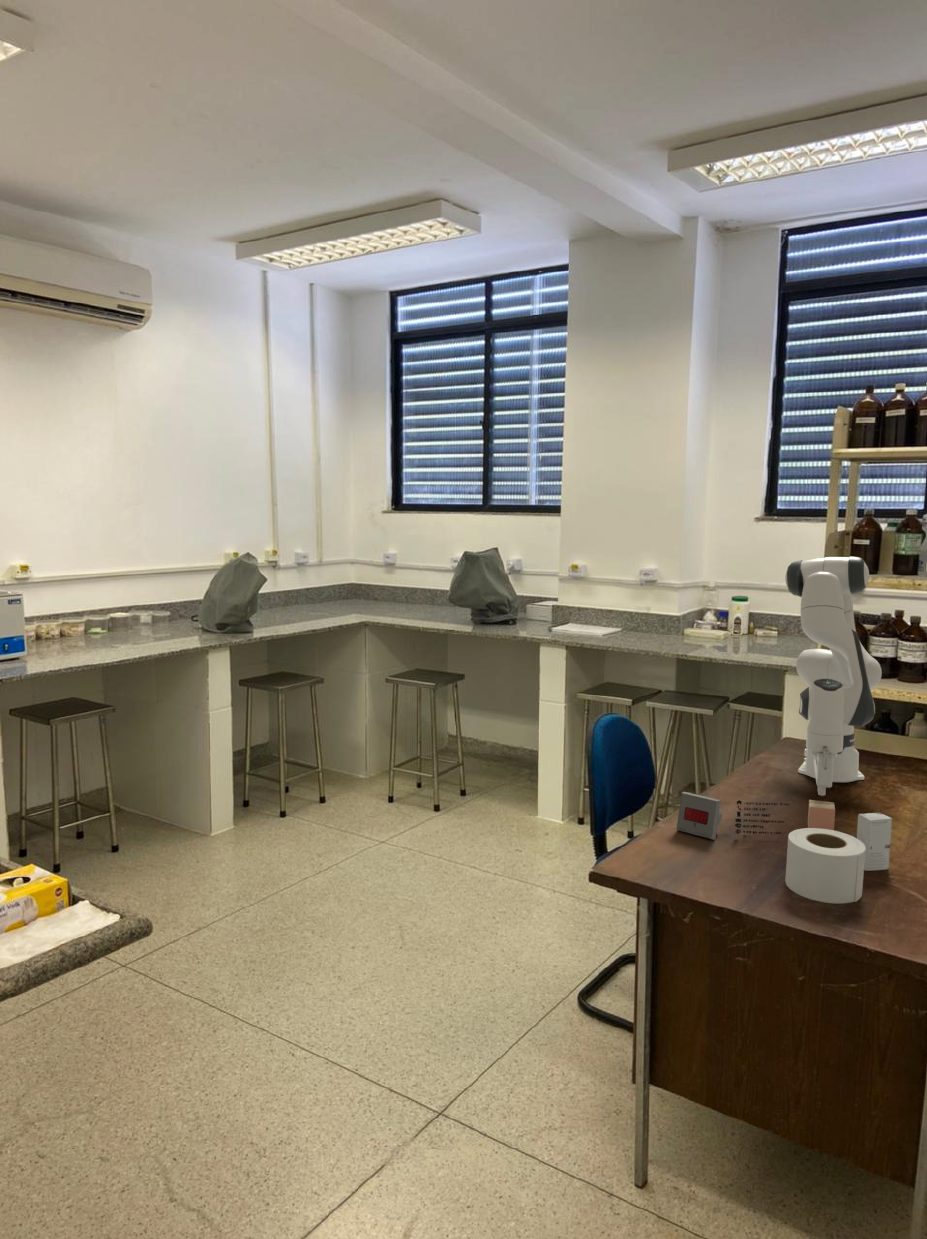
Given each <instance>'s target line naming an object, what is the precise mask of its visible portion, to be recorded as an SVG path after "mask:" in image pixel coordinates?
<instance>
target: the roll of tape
mask: <svg viewBox="0 0 927 1239" xmlns="http://www.w3.org/2000/svg"><path fill="white" fill-rule="evenodd" d="M865 851H866V847H865V845H864V844H863V843H862V842H861V841H860V840H858V839H857V837H855V836H854V835H850V834H847V833H845V832H842V831H838V830H835V829H834V830H828V829H820V828H808V827H806V828H805V827H804V828H799V829H794V830H792V831H791V832H789V833H788V837H787V851H786V867H785V878H784V881H785V885H786V886H787V888H788V889H790V890H791V891H792V892H794V893H795V894H797V895H798V896H801V897H803V898H805V899H808V900H812V901H816V902H820V903H827V904H850V903H853V902H854V903H856V902H858V901H859V900H860V899H861V898H862V895H863V885H864V872H865V870H864V863H865Z"/></svg>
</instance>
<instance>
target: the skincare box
mask: <svg viewBox="0 0 927 1239" xmlns="http://www.w3.org/2000/svg"><path fill="white" fill-rule="evenodd" d="M892 824H893V818H892V817H890V816H888V815H885V814H884V813H881V812H872V813H871V812H869V813H868V812H867V813H859V814H858V815H857V825H856V838H857V839H858V840H860V841H861V842H862V843H863V844H864V845H865V847H866V851H865V863H864V872H869V871H870V872H871V871H883V870H884V871H886V870H888V869H890V868H889V866H890V855H891V854H890V853H891V841H892V840H891V838H892V837H891V836H892V826H893V825H892Z"/></svg>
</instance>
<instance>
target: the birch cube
mask: <svg viewBox="0 0 927 1239" xmlns="http://www.w3.org/2000/svg"><path fill="white" fill-rule="evenodd" d="M807 810H808V813H807V828H820V829H828V830H834V831H835V822H836V821H835V819H836V818H835V817H836V808H835V802H830V801H822V800H813V799H809V800H808V809H807Z"/></svg>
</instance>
